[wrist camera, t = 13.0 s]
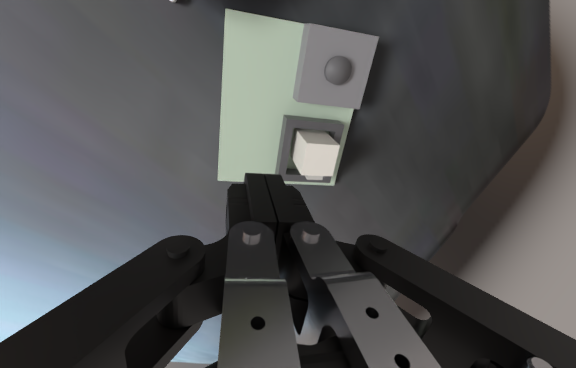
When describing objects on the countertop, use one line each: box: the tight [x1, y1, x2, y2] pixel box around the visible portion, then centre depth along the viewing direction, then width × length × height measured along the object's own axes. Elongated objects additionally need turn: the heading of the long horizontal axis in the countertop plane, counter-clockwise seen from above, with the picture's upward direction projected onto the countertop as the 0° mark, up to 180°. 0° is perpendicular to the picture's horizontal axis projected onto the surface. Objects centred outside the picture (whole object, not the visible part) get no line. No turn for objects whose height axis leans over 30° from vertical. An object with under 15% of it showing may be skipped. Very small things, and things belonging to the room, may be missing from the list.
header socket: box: [275, 115, 344, 183], centre depth 37 cm, size 8×8×2 cm
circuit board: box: [218, 9, 379, 185], centre depth 34 cm, size 20×17×4 cm
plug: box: [290, 128, 340, 180], centre depth 35 cm, size 5×4×6 cm
